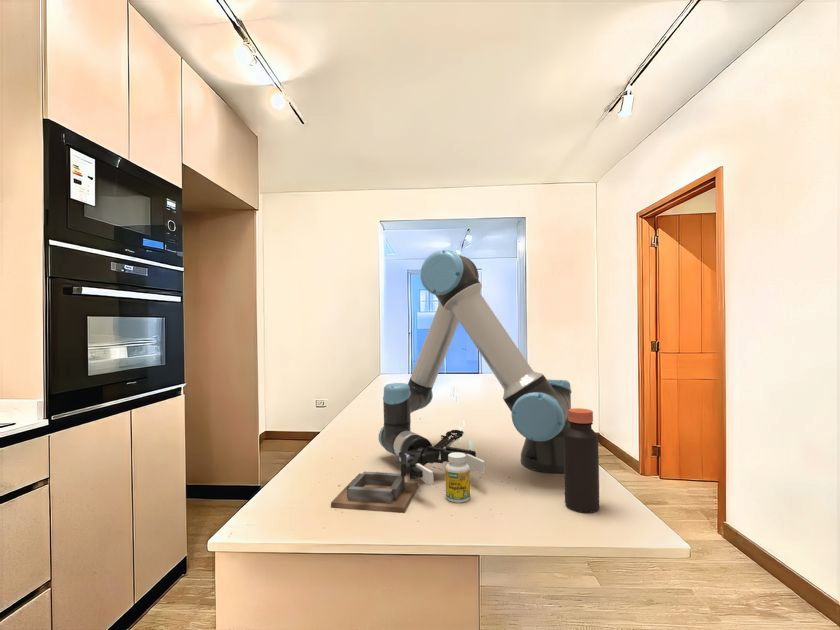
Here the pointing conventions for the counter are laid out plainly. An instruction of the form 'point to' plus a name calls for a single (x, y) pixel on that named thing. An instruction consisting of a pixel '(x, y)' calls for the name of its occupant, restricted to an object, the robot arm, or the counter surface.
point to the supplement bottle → (457, 478)
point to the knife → (445, 438)
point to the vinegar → (581, 462)
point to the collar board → (376, 492)
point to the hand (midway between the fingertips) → (458, 473)
